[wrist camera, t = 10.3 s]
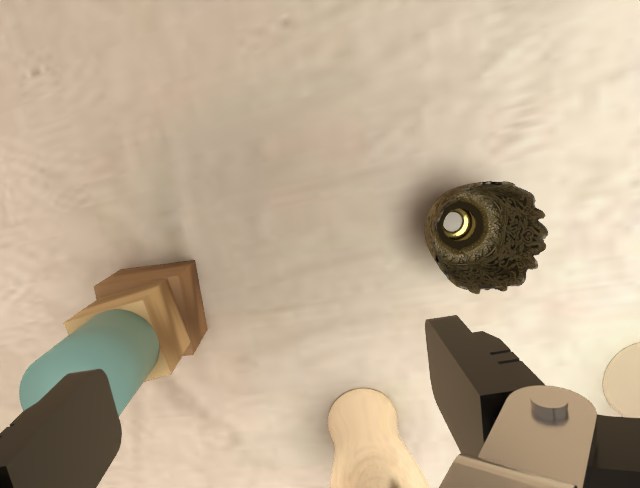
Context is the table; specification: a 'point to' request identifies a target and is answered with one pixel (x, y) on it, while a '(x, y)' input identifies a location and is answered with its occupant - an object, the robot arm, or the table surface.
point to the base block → (181, 284)
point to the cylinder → (98, 357)
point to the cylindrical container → (624, 382)
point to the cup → (486, 235)
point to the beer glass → (370, 444)
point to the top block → (156, 310)
